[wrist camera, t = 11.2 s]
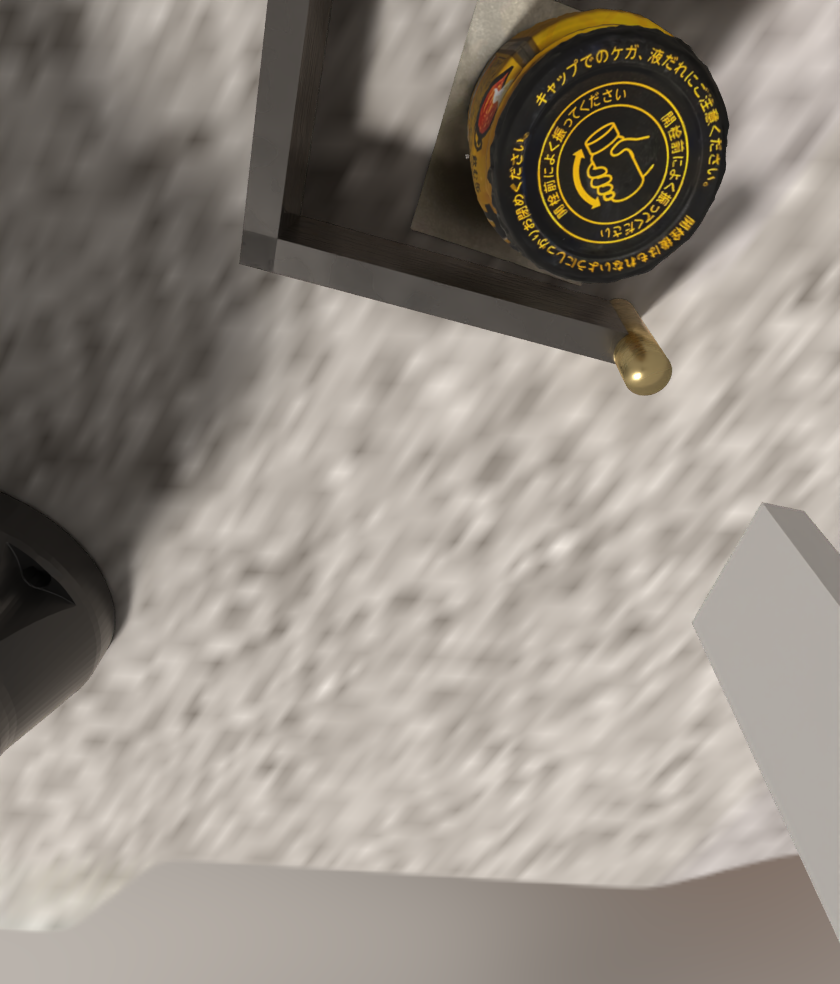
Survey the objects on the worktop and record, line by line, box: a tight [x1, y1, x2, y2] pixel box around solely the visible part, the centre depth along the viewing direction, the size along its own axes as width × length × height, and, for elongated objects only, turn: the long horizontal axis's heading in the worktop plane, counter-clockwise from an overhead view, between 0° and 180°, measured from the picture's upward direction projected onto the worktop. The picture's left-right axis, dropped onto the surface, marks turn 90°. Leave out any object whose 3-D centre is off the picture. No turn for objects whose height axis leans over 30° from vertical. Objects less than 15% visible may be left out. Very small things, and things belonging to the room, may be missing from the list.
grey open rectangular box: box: [239, 0, 672, 396], centre depth 22 cm, size 16×14×6 cm
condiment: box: [410, 0, 729, 286], centre depth 21 cm, size 7×8×12 cm
